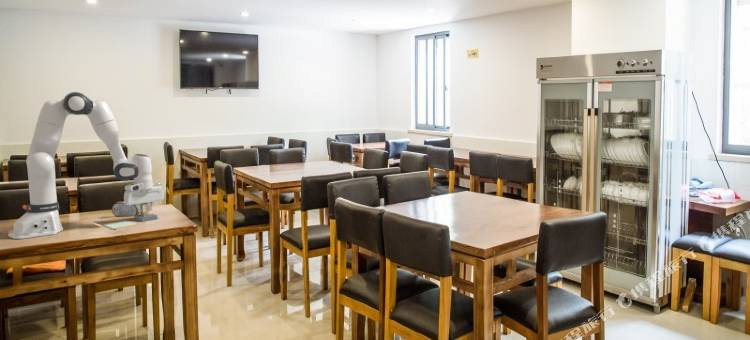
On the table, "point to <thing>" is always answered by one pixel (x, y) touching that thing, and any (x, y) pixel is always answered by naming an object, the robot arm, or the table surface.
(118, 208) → the tin
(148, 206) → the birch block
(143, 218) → the pocket holder
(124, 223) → the green board
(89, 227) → the table surface
